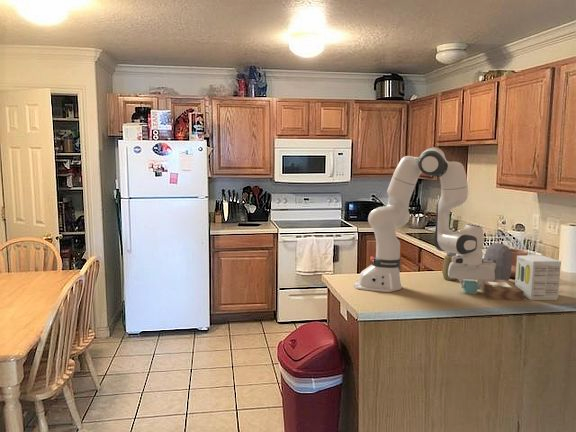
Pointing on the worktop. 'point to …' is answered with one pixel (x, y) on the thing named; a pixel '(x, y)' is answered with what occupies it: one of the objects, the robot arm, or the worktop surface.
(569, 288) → the worktop surface
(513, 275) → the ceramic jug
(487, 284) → the walnut plinth
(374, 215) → the robot arm
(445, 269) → the squeeze bottle
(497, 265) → the small grey backpack
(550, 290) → the supplement box
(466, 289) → the teal cube
